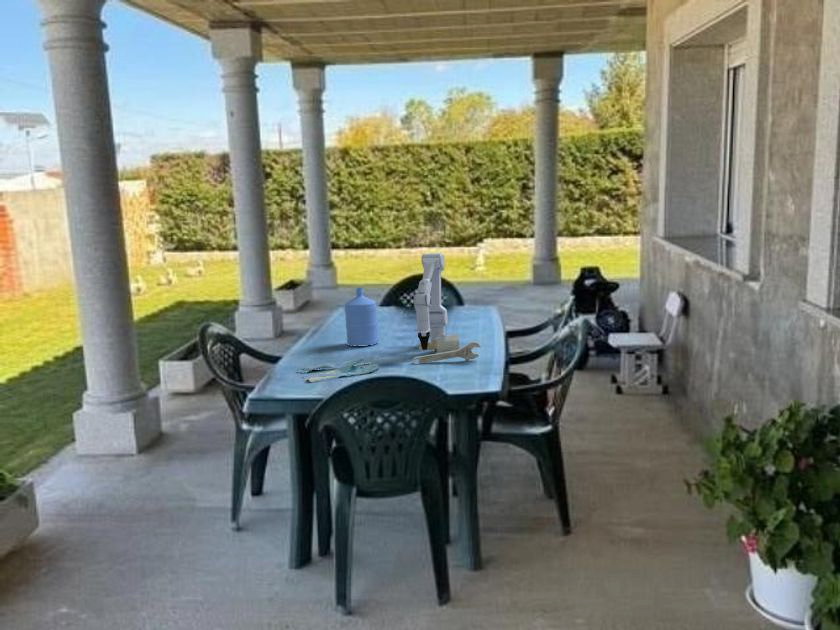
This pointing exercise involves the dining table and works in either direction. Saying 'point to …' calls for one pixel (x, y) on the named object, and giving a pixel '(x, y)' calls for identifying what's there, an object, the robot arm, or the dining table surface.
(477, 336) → the dining table surface
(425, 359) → the wrench
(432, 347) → the gold trophy
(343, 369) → the rubber gloves
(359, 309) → the water jug
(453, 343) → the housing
